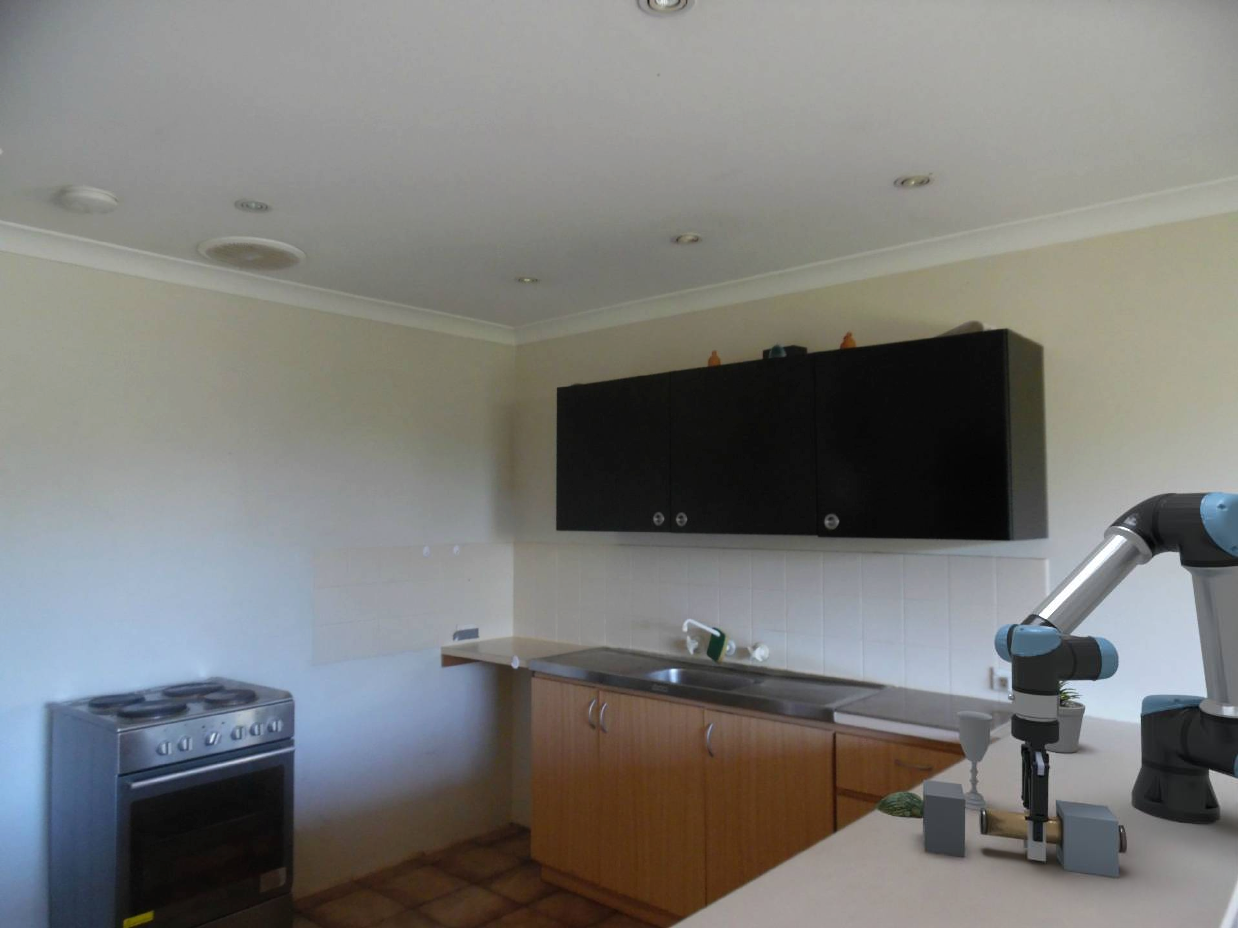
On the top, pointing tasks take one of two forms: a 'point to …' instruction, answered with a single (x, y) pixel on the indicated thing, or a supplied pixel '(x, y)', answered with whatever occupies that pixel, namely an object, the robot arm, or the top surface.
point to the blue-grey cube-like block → (1088, 839)
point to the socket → (943, 818)
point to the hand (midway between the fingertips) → (1034, 853)
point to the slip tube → (1017, 827)
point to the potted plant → (1068, 723)
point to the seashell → (902, 805)
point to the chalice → (974, 749)
